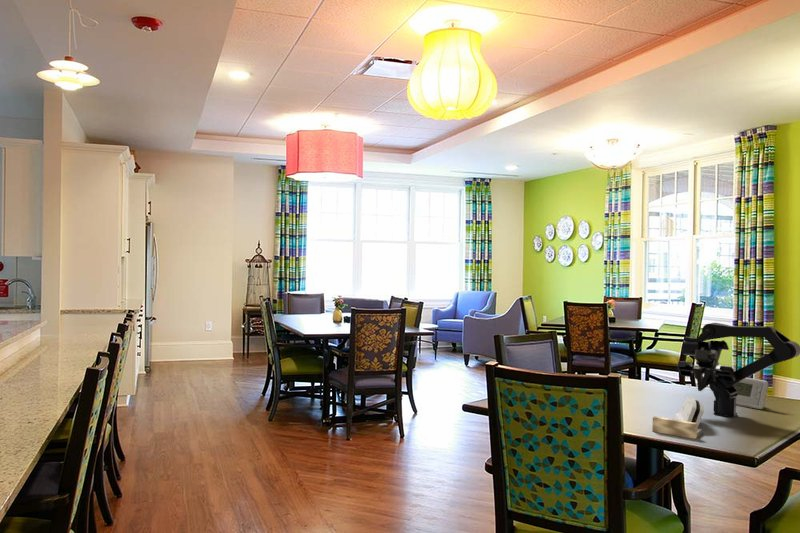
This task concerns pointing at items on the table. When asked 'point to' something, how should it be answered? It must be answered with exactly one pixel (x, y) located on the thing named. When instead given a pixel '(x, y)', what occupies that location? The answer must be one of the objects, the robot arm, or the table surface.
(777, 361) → the robot arm
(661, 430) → the board
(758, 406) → the digital clock
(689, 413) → the pale rounded upright slab
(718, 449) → the table surface
